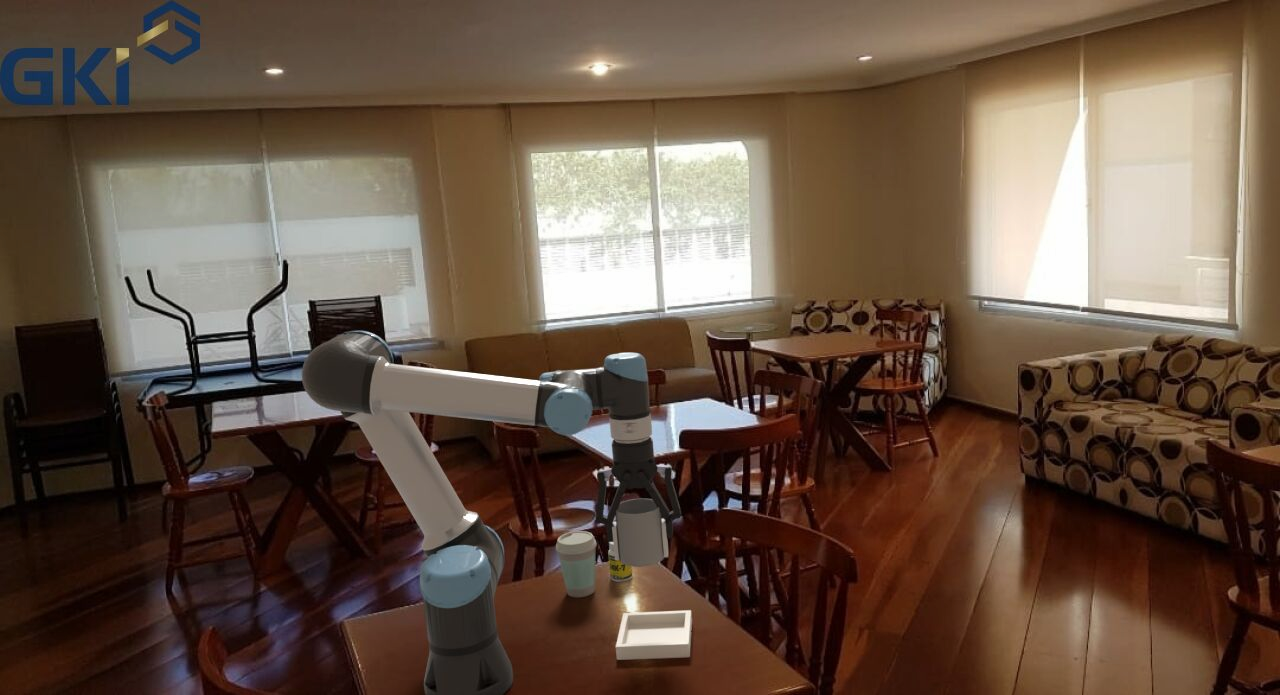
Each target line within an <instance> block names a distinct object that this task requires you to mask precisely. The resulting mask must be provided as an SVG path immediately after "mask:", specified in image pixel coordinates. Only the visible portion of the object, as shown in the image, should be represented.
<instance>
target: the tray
mask: <svg viewBox="0 0 1280 695" xmlns="http://www.w3.org/2000/svg"><path fill="white" fill-rule="evenodd" d="M692 629H693V617H692V610H691V609H688V610H687V609H685V610H668V611H667V610H666V611H665V610H664V611H645V612H644V611H642V612H641V611H640V612H639V611H638V612H623V613H622V618H621V622H620V625H619V631H618V635H617V638H616V640H617V641H616V643H615V652H616V660H617V661H619V660H620V661H623V660H649V659H650V660H651V659H652V660H653V659H676V658H677V659H679V658H690V657H691V645H692V632H691V631H692Z"/></svg>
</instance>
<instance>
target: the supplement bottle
mask: <svg viewBox="0 0 1280 695" xmlns="http://www.w3.org/2000/svg"><path fill="white" fill-rule="evenodd" d="M608 546H609V550H608V551H607V554H608V556H607V557H608V565H609V566H608V567H609V575H610V579H611V580H612V581H613V582H617V583H620V582H621V583H623V582H627V581H629V580H631V579H632V577H633V566H627V565H624V564H622V563H621V561H620V560H615V555H614V544H613V542H608Z"/></svg>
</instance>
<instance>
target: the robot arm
mask: <svg viewBox="0 0 1280 695" xmlns="http://www.w3.org/2000/svg"><path fill="white" fill-rule="evenodd" d="M389 346H390V345H388V344H387V342H386V341H385V340H384V339H383V338H381V337H380V336H379V335H377V334H375V333H372V332H369V331H367V330H366V331H365V330H351V331H345V332H343V333H340V334H337V335H335V337H333V338H331V339H330V340H328V341H326V342H323V343H322V344H320V345H318V346H316V347H315V348H314V349H312V350H311V351H310V353H309V354H308V355H307V357H306V358H305V360H304V363H303V365H302V369H301V381H302V385H303V388H304V390H305V392H306V394H307V395H308V396H309V398H310V399H311V400H312V401H313V402H314V403H315V404H317V405H319V406H320V407H322V408H325V409H328V410H332V411H335V412H336V411H337V412H340V414H341V415H342V417H343V418H344V419H345V421H350V422H354V423H356V424H358V426H359V428H360V429H361V431H362V433H363V434H364V436H365V438H366V440H367V441H368V443H369V445H370V446H371V448H372V449H373V451H374V453H375V454H376V456H377V458H378V459H379V461H380V463H381V465H382V466H383V468H384V470H385V472H386V473H387V475H388V476H389V478H390V479H391V482H392V483H393V485H394V486H395V488H396V490H397V492H398V493H399V495H400V496H401V498H402V500H403V501H404V503H405V505H406V507H407V509H408V510H409V512H410V513H411V515H412V516H413V519H414V520H415V522H416V524H417V525H418V527H419V529H420V531H421V532H422V533H423V537H424V538H423V540H422V545H421V549H422V550H423V552H424V554H425V555H426V557H427V558H426V559H425V560H424V562H423V563H422V564H421V567H420V571H419V589H420V590H419V591H420V594H421V597H422V606H423V611H424V620H425V626H426V633H427V639H428V646H429V654H428V659H427V664H426V668H425V673H424V674H425V675H424V679H423V689H424V695H504V694H505V693H506V692H508V690H509V689H510V688H511V686H512V685H513V682H514V674H513V672H514V671H513V666H512V663H511V660H510V658H509V657H508V654H507V652H506V650H505V649H504V646H503V644H502V642H501V641H500V638H499V634H498V626H497V620H496V619H497V618H496V610H495V602H494V601H495V600H494V598H495V593H496V590H497V586H498V584H499V581H500V579H501V578H500V577H501V575H502V572H503V569H504V566H505V549H504V545H503V542H502V539H501V537H499V535H498V533H497V532H495V530H494V529H493V528H491V527H490V526H488V525H485V524H484V522H483V521H482V518H481V517H480V515H479V513H477V512H475V511H470V510H467V509H466V508H465V507H464V505H463V502H462V501H461V499H460V498H459V496H458V495H457V492H456V491H455V488H454V487H453V486H452V483H451V482H450V480H449V479H448V476H447V475H446V474H445V472H444V470H443V468H442V467H441V465H440V463H439V462H438V460H437V458H436V457H435V455H434V452H433V451H432V449H431V448H430V446H429V445H428V443H427V441H426V439H425V437H424V436H423V434H422V432H421V431H420V429H419V427H418V425H417V424H416V422H415V421H414V419H413V417H412V415H411V414H410V413H415V414H425V415H432V416H434V415H435V416H443V417H453V418H462V419H471V420H479V421H480V420H481V421H489V422H490V421H491V422H499V423H509V424H516V425H517V424H518V425H525V426H526V425H527V426H537V427H541V428H542V427H543V428H550V429H551V430H552V431H553V432H555V433H557V434H558V435H560V436H561V435H562V436H573V435H576V434H579V432H581V431H583V429H584V428H586V426H587V425H588V423H589V421H591V420H590V419H591V417H592V415H593V411H595V410H604V409H605V410H606V409H608V416H609V417H608V418H609V429H610V437H611V438H612V440H611V449H612V450H611V452H612V463H613V464H612V466H611V467H608V468H606V469H604V468H602V467H601V468H599V469H598V470H597V474H596V475H597V480H598V485H599V487H598V492H597V493H598V495H597V505H596V514H595V523H596V524H599V525H601V524H602V525H604V526H605V529H606V539H607V540H606V541H607V542H608V543H609V542H613V544H614V555H615V560H619V549H618V538H617V527H616V521H614V520H615V518H616V517H615V515H616V510H618V507H619V504H620V503H621V502H622V500H623V496H624V494H625V492H626V489H627V490H633V489H635V488H636V489H645V490H646V491H647V493H648V494H649V496H650V497H651V499H652V500H653V501H654V502H655V504H656V506H657V508H658V507H659V511H660V513H661V517H662V522H661V525H662V537H663V550H664V558H669V543H668V539H673V536H674V529H673V522H674V520H676V519H680V518H682V510H681V507H680V502H679V500H678V496H677V492H676V489H675V486H674V482H673V478H672V473H673V469H672V468H673V467H672V466H673V465H671V463H666V464H664V465H663V464H658V463H657V462H656V460H655V453H654V441H653V438H652V437H651V436H652V434H653V427H652V426H653V425H652V414H651V404H650V390H649V388H650V387H649V376H648V368H647V362H646V358H645V357H644V355H643V354H641V353H638V352H619V353H613V354H608V355H607V356H606V357H605V359H604V363H603V366H600V367H594V368H581V369H570V370H568V369H567V370H561V369H558V370H555V371H550V372H544V373H541V374H540V376H539V379H538V380H537V379H527V378H520V377H519V378H518V377H510V376H502V375H494V374H483V373H475V372H467V371H458V370H450V369H439V368H432V367H423V366H414V365H406V364H397V363H396V364H395V363H394V362H395V361H394V356H393V355H394V354H393V352H392V350H391V348H390V347H389ZM657 472H658V473H659V475H660V477H661V478H664V485H665V488H666V491H667V494H668V498H669V501H670V505H671V509H672V510H671V511H670V509H669V507H668V506H667V504H666V502H665V501H664V499H663V497H662V495H661V494H660V492H659V490H658V488H657V487H656V485H655V482H654V481H653V478H654V476H656V474H657ZM612 475H613V477H614V478H615V479H616V480H617V481H618V482H619V483H618V487H617V489H616V493H615V495H614V497H613V500H612V503H611V505H610V508H609V510H608V514H607V515H605V514H604V510H605V503H606V493H607V484H608V482H609V480H610V478H611V477H610V476H612Z"/></svg>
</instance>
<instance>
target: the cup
mask: <svg viewBox="0 0 1280 695" xmlns="http://www.w3.org/2000/svg"><path fill="white" fill-rule="evenodd" d="M614 518H615V522H616V527H617V538H618V549H619V560H620V561H621V563H622V564H624V565H627V566H632V568H633V567H634V568H635V567H636V568H640V567H641V568H643V567H649V566H653V565H656V564H659V563H660V562H661V561H663V560H664V559H665V557H664V550H663V537H662V525H661V522H662V519H663V517H662V515H661V513H660V511H659V507H658V508H657V506H656V504H655V502H654V501H653V499H652V498H633V499H628V500H625V501H624V500H623V501H621V502H620V504H619V507H618V510H616V515H615V517H614Z"/></svg>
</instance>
